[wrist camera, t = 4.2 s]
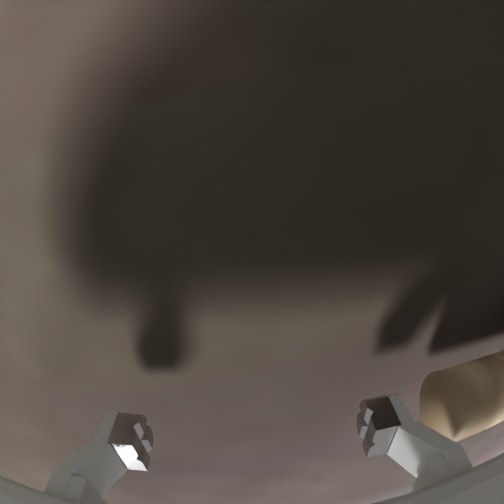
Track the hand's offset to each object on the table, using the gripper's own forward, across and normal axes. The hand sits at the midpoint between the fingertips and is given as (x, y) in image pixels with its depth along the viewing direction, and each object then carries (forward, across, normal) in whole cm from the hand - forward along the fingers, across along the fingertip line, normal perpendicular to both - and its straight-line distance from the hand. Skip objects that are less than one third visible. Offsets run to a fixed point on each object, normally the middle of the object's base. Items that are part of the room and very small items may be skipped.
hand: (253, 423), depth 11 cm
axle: (+1, -14, 0) cm, 14 cm away
